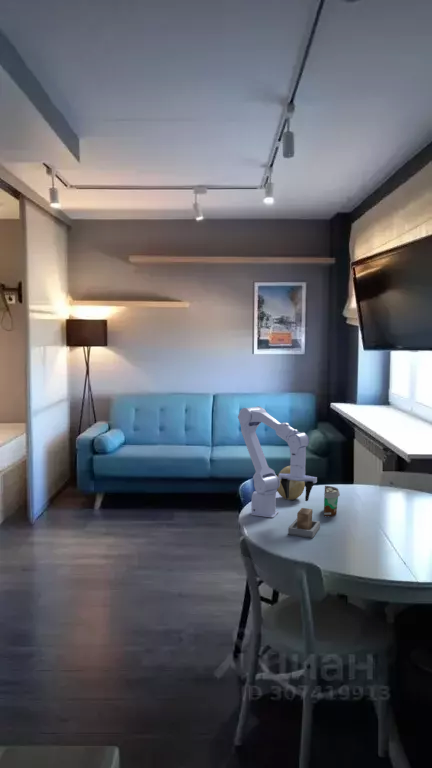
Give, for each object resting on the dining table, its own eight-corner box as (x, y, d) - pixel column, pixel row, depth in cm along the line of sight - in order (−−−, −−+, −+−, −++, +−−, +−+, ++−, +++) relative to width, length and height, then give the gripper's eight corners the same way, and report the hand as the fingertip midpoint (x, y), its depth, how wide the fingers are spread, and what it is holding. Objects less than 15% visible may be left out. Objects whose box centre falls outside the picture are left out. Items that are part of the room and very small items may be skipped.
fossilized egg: (309, 499, 254) (310, 465, 253) (294, 505, 244) (295, 470, 243) (285, 493, 262) (286, 461, 261) (269, 499, 253) (270, 466, 251)
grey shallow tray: (288, 534, 208) (288, 528, 207) (296, 524, 219) (296, 518, 218) (312, 538, 204) (312, 531, 204) (319, 528, 215) (320, 521, 215)
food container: (339, 518, 227) (340, 493, 226) (323, 517, 228) (324, 492, 227) (339, 509, 239) (339, 486, 238) (324, 508, 240) (324, 485, 239)
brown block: (296, 531, 209) (297, 513, 208) (301, 526, 215) (301, 507, 215) (307, 533, 208) (308, 514, 207) (311, 527, 214) (312, 509, 213)
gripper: (276, 464, 218) (275, 499, 219) (314, 468, 212) (313, 504, 213) (281, 461, 224) (281, 495, 225) (318, 464, 219) (317, 499, 220)
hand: (297, 499), depth 220 cm, fingers open, 7 cm apart
